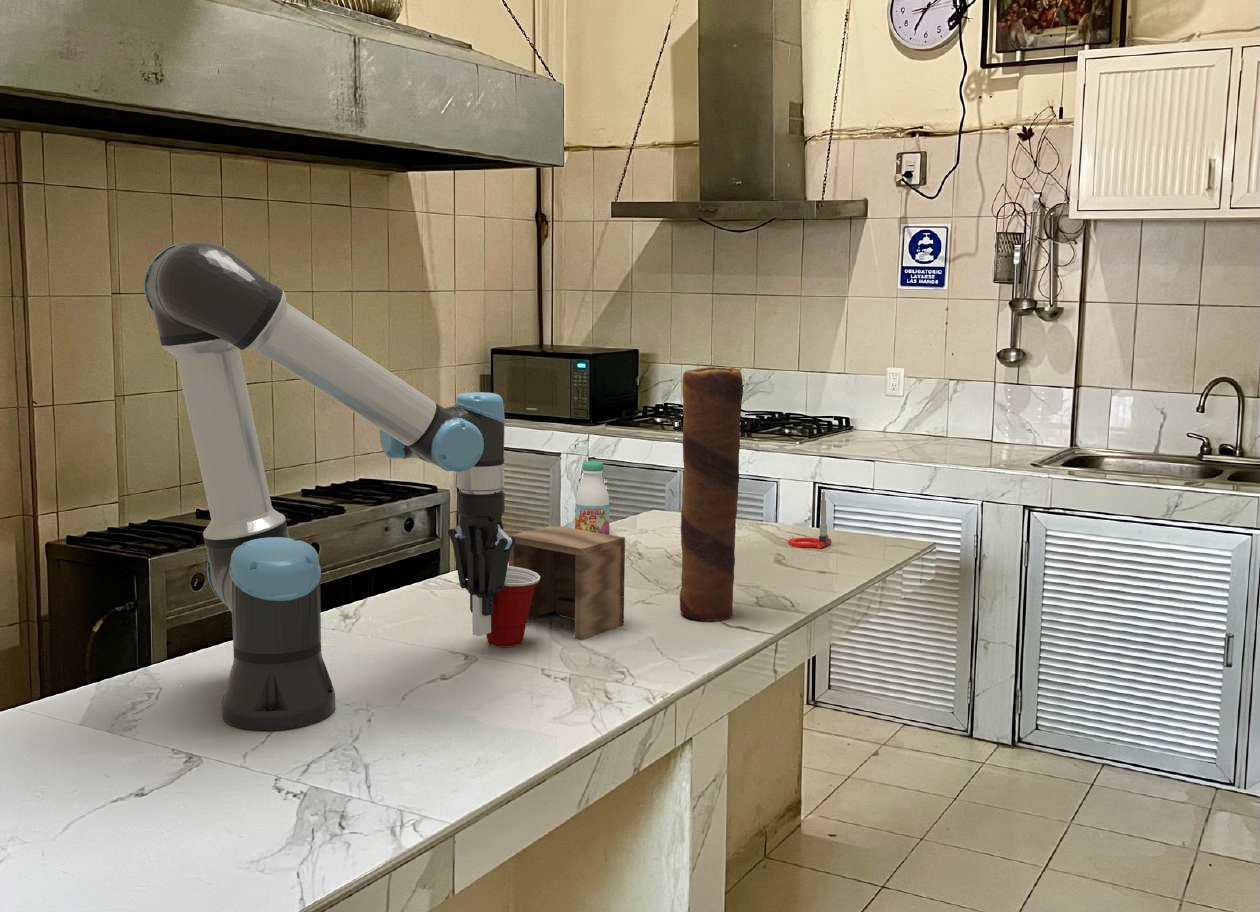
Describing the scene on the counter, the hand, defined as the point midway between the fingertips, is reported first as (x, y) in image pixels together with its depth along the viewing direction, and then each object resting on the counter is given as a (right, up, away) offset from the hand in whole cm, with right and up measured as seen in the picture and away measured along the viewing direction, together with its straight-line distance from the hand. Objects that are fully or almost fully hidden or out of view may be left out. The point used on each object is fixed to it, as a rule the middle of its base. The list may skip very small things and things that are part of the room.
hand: (481, 633), depth 196 cm
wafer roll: (+38, 0, +24) cm, 45 cm away
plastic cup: (+3, -3, +5) cm, 7 cm away
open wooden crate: (+13, -1, +17) cm, 21 cm away
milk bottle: (+15, +7, +76) cm, 78 cm away
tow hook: (+65, +8, +86) cm, 108 cm away
